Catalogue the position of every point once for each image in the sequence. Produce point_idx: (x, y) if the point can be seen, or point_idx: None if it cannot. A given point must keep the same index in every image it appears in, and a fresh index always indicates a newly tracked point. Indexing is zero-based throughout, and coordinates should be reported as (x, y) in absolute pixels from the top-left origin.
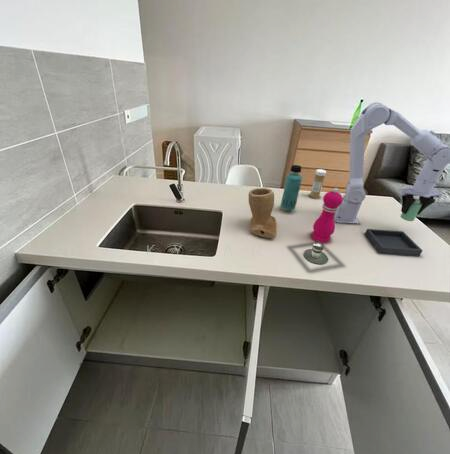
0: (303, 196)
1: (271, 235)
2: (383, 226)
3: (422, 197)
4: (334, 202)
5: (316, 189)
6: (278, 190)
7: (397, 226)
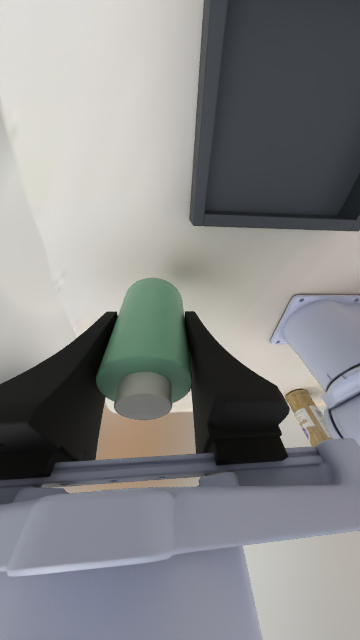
0: (321, 391)
1: None
2: (210, 290)
3: (85, 440)
4: None
5: (319, 413)
6: None
7: None
